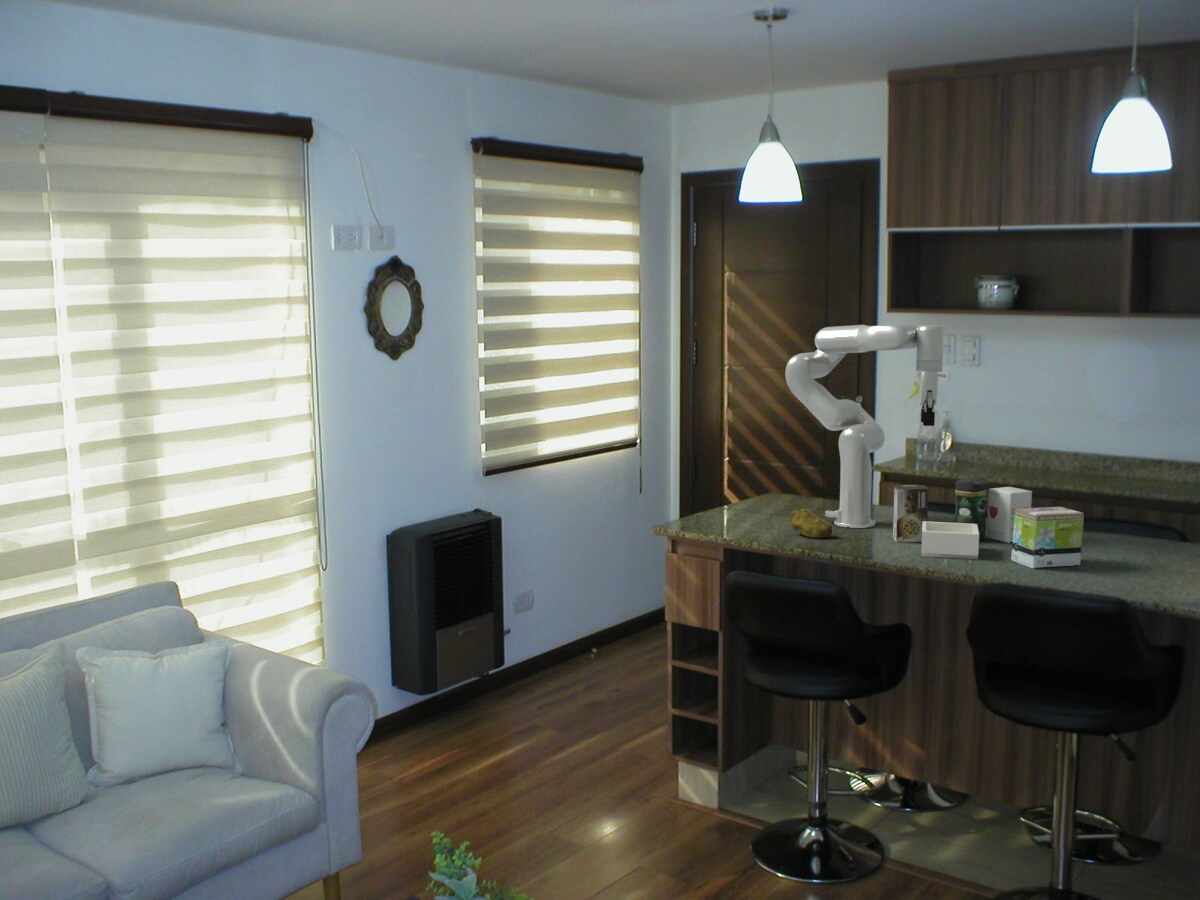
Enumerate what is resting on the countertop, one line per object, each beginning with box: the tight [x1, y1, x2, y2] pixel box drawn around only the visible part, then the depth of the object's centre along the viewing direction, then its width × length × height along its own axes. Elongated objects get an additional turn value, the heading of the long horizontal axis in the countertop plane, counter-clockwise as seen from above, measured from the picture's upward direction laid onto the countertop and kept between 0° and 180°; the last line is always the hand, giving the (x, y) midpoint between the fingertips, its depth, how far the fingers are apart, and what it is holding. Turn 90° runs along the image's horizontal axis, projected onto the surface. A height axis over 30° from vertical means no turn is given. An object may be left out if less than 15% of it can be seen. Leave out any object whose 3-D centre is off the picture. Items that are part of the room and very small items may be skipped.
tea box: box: [1010, 506, 1085, 569], centre depth 315 cm, size 15×10×15 cm
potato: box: [788, 508, 833, 539], centre depth 351 cm, size 8×13×8 cm, turn 39°
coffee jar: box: [954, 476, 988, 541], centre depth 346 cm, size 10×8×19 cm
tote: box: [920, 520, 980, 560], centre depth 330 cm, size 15×15×7 cm
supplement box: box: [985, 486, 1033, 544], centre depth 346 cm, size 9×9×15 cm
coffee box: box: [892, 484, 929, 543], centre depth 345 cm, size 9×6×16 cm
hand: (927, 423), depth 350 cm, fingers open, 9 cm apart
